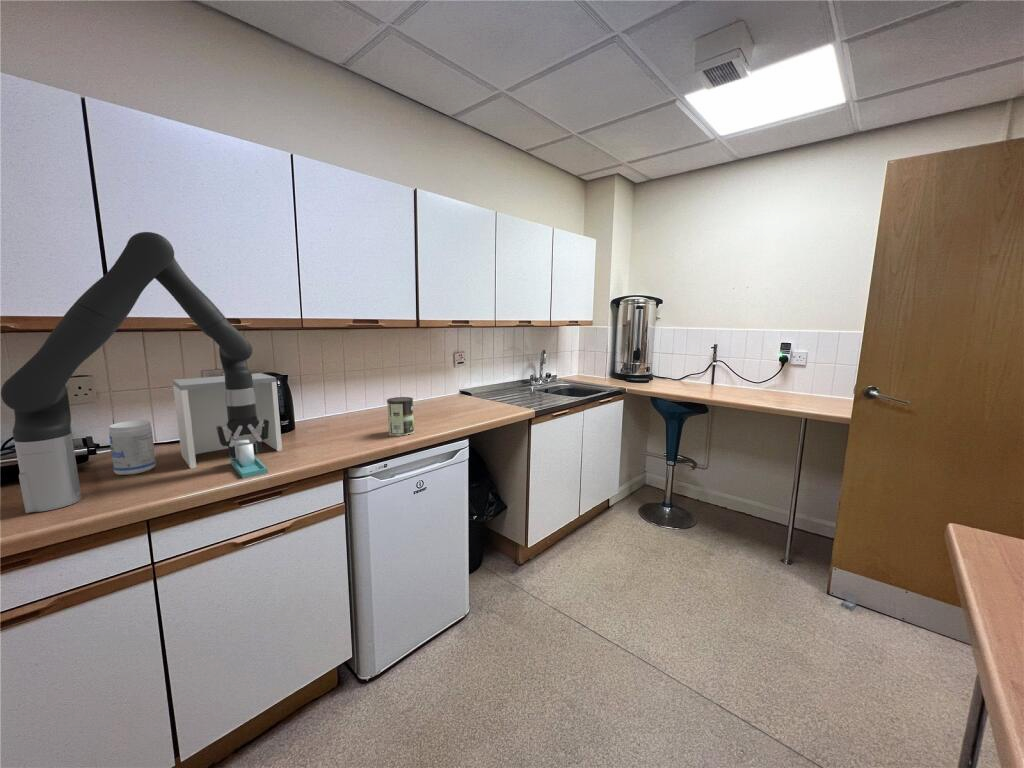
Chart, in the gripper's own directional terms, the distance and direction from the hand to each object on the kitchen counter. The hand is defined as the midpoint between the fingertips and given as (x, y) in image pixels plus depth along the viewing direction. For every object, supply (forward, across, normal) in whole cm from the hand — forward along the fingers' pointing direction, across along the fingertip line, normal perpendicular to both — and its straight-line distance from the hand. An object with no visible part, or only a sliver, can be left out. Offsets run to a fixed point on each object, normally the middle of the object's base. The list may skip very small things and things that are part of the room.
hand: (246, 455), depth 130 cm
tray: (+4, 0, -2) cm, 5 cm away
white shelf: (+4, 0, +19) cm, 19 cm away
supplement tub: (+4, -25, +20) cm, 32 cm away
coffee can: (+4, +55, +1) cm, 55 cm away
